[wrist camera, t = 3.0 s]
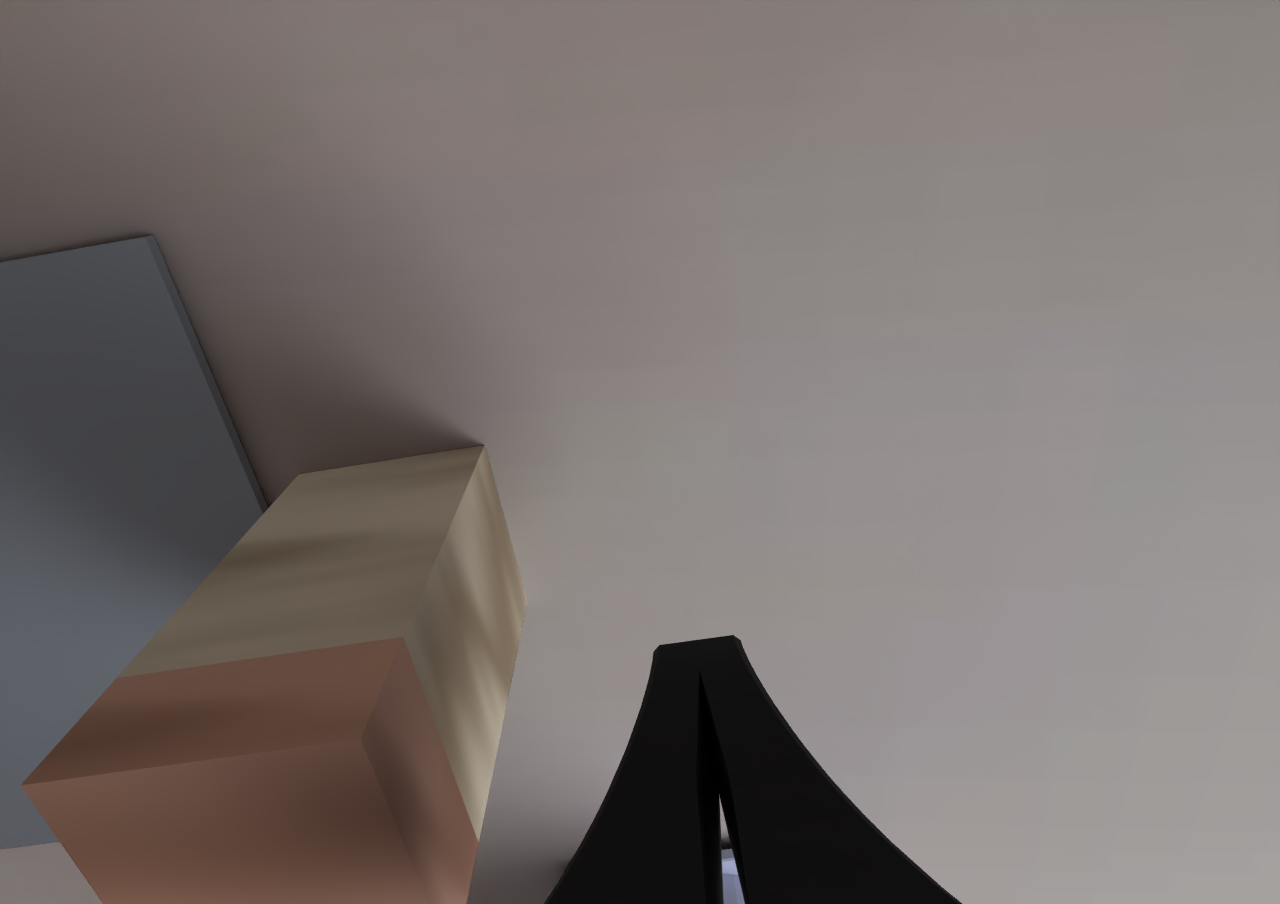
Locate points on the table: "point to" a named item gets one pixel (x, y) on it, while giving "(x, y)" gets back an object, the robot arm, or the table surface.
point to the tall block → (310, 705)
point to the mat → (99, 489)
